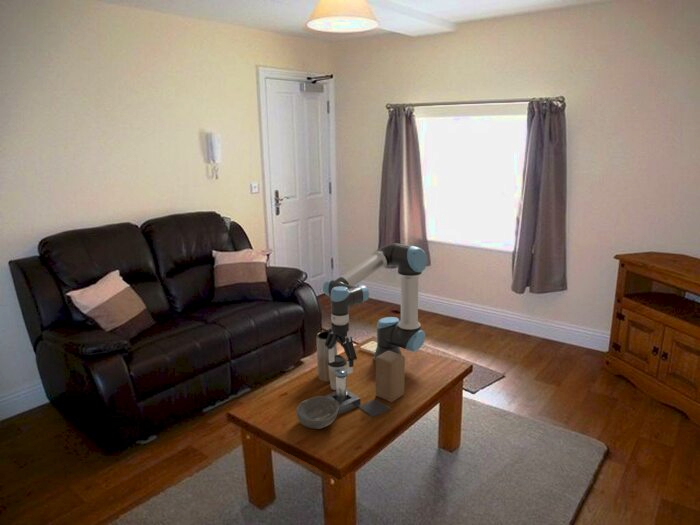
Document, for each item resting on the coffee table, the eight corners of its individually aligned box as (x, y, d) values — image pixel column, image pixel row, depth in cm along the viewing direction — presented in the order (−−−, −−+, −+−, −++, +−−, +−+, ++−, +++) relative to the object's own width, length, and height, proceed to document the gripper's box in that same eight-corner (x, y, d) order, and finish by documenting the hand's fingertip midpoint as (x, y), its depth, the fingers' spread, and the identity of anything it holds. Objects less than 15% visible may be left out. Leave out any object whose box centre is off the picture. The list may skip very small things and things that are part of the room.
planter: (341, 377, 247) (340, 335, 241) (324, 383, 242) (323, 340, 236) (331, 370, 255) (329, 329, 249) (314, 375, 250) (312, 333, 244)
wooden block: (374, 395, 230) (374, 356, 225) (388, 387, 237) (388, 349, 232) (391, 403, 223) (392, 363, 218) (405, 394, 230) (405, 355, 225)
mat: (375, 400, 226) (375, 399, 226) (390, 409, 219) (390, 408, 218) (358, 407, 220) (358, 406, 220) (373, 417, 213) (373, 416, 212)
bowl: (304, 440, 198) (303, 423, 195) (291, 418, 213) (290, 401, 211) (345, 429, 204) (345, 412, 202) (330, 408, 220) (329, 392, 218)
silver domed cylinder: (343, 399, 227) (342, 367, 223) (351, 404, 223) (350, 372, 219) (332, 403, 224) (331, 371, 220) (340, 409, 219) (339, 376, 215)
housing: (344, 394, 231) (344, 387, 230) (360, 405, 222) (360, 398, 221) (323, 403, 224) (323, 396, 223) (339, 414, 215) (338, 407, 214)
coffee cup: (344, 392, 234) (344, 363, 230) (326, 390, 235) (325, 361, 231) (348, 382, 242) (348, 354, 238) (330, 381, 244) (330, 353, 240)
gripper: (316, 316, 220) (317, 359, 226) (350, 333, 201) (351, 380, 207) (330, 312, 225) (331, 355, 230) (365, 328, 206) (365, 375, 211)
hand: (340, 367), depth 218 cm, fingers open, 13 cm apart
